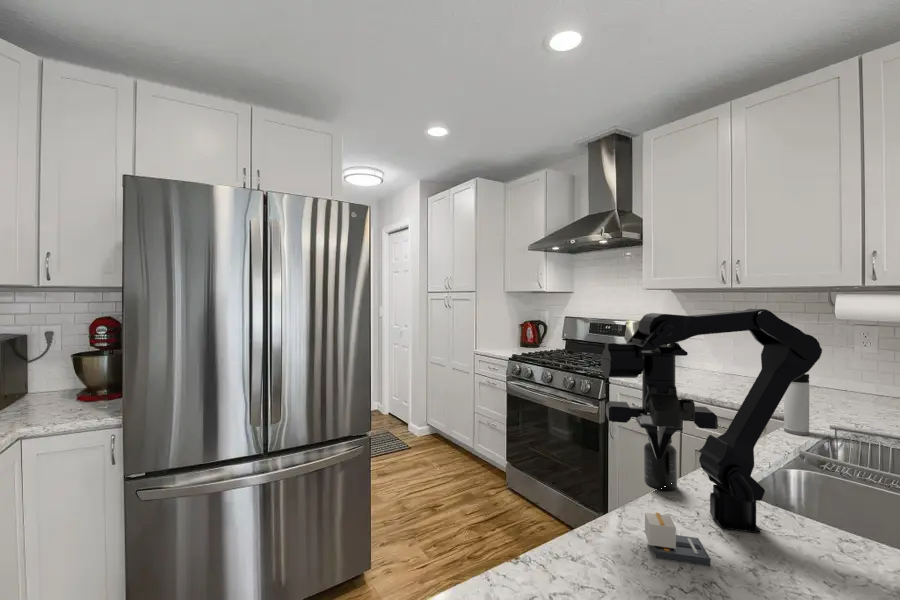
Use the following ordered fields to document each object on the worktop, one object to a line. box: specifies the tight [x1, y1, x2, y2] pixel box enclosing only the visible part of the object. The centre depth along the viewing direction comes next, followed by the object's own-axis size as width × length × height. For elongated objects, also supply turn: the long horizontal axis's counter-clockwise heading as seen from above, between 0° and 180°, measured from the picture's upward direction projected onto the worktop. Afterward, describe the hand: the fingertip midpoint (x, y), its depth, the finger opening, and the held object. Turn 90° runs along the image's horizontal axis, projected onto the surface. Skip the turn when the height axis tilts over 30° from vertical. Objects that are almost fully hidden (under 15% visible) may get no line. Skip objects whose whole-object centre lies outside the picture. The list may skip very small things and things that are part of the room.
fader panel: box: [650, 534, 711, 567], centre depth 71 cm, size 8×6×1 cm
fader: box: [644, 512, 677, 549], centre depth 72 cm, size 4×4×4 cm
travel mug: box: [783, 373, 810, 436], centre depth 135 cm, size 6×7×20 cm
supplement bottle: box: [643, 430, 678, 492], centre depth 96 cm, size 7×7×12 cm
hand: (658, 458), depth 81 cm, fingers closed
